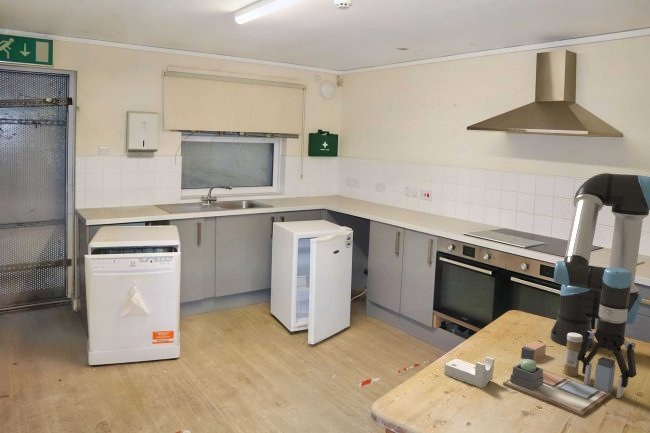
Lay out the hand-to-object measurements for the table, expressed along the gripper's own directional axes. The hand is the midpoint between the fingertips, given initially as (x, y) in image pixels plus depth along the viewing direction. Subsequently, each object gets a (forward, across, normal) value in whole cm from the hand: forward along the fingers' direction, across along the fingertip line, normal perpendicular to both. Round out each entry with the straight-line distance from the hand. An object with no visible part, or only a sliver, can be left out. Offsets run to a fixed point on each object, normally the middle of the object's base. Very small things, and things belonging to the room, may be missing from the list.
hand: (602, 390), depth 166 cm
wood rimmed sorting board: (0, -9, -12) cm, 15 cm away
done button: (-5, -16, -17) cm, 24 cm away
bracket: (+1, -31, -26) cm, 40 cm away
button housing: (0, -16, -17) cm, 23 cm away
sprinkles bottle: (0, -12, +4) cm, 13 cm away
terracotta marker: (-2, -27, +13) cm, 30 cm away
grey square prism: (0, 0, 0) cm, 0 cm away
